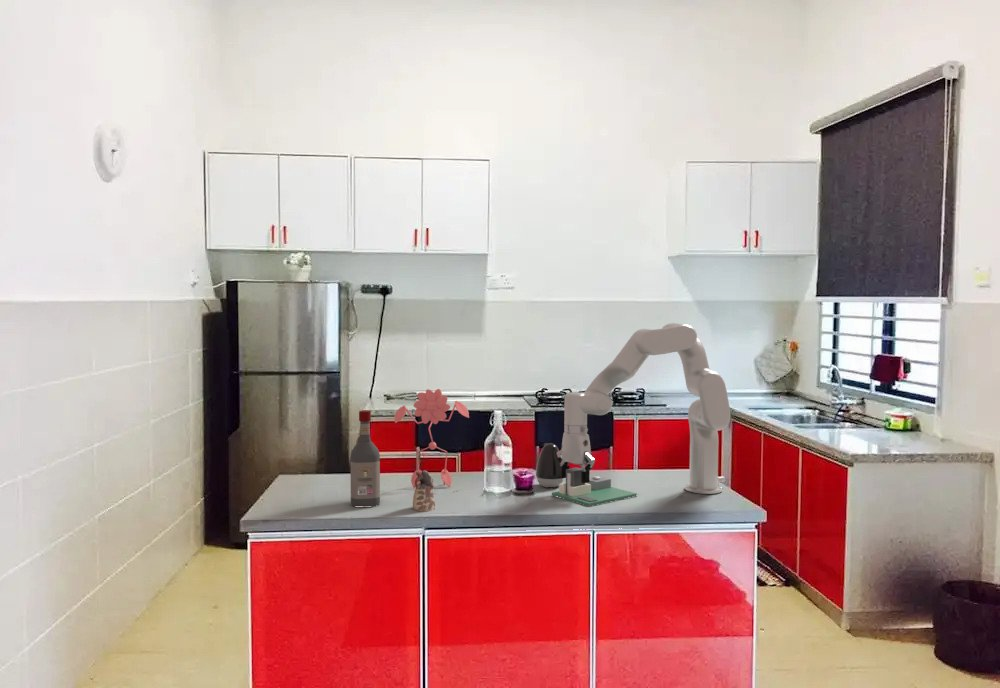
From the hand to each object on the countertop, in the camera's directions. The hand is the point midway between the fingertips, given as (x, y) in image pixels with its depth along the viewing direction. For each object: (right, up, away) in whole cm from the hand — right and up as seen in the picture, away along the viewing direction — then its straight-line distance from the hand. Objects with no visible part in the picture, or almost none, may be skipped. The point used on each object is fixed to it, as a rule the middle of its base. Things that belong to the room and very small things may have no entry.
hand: (575, 480), depth 269 cm
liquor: (-68, -6, -11) cm, 70 cm away
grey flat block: (+8, -4, +9) cm, 13 cm away
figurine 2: (-49, -6, -16) cm, 52 cm away
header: (0, -5, 0) cm, 5 cm away
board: (+6, -5, 0) cm, 8 cm away
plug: (0, -4, 0) cm, 4 cm away
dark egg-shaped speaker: (-7, -5, +15) cm, 17 cm away
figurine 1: (-49, -5, +9) cm, 50 cm away
